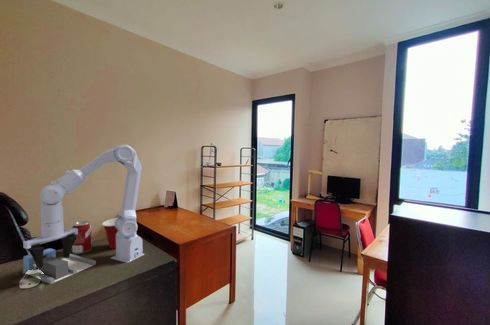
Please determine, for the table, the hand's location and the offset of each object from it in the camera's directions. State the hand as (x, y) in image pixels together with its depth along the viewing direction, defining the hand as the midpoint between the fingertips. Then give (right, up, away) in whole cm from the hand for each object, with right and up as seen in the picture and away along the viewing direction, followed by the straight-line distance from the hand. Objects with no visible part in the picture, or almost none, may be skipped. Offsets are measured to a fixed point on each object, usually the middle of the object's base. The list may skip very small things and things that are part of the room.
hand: (53, 262), depth 76 cm
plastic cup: (+8, -4, +24) cm, 25 cm away
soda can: (-4, -4, +19) cm, 20 cm away
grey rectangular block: (0, -4, 0) cm, 4 cm away
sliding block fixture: (-1, -4, +4) cm, 6 cm away
